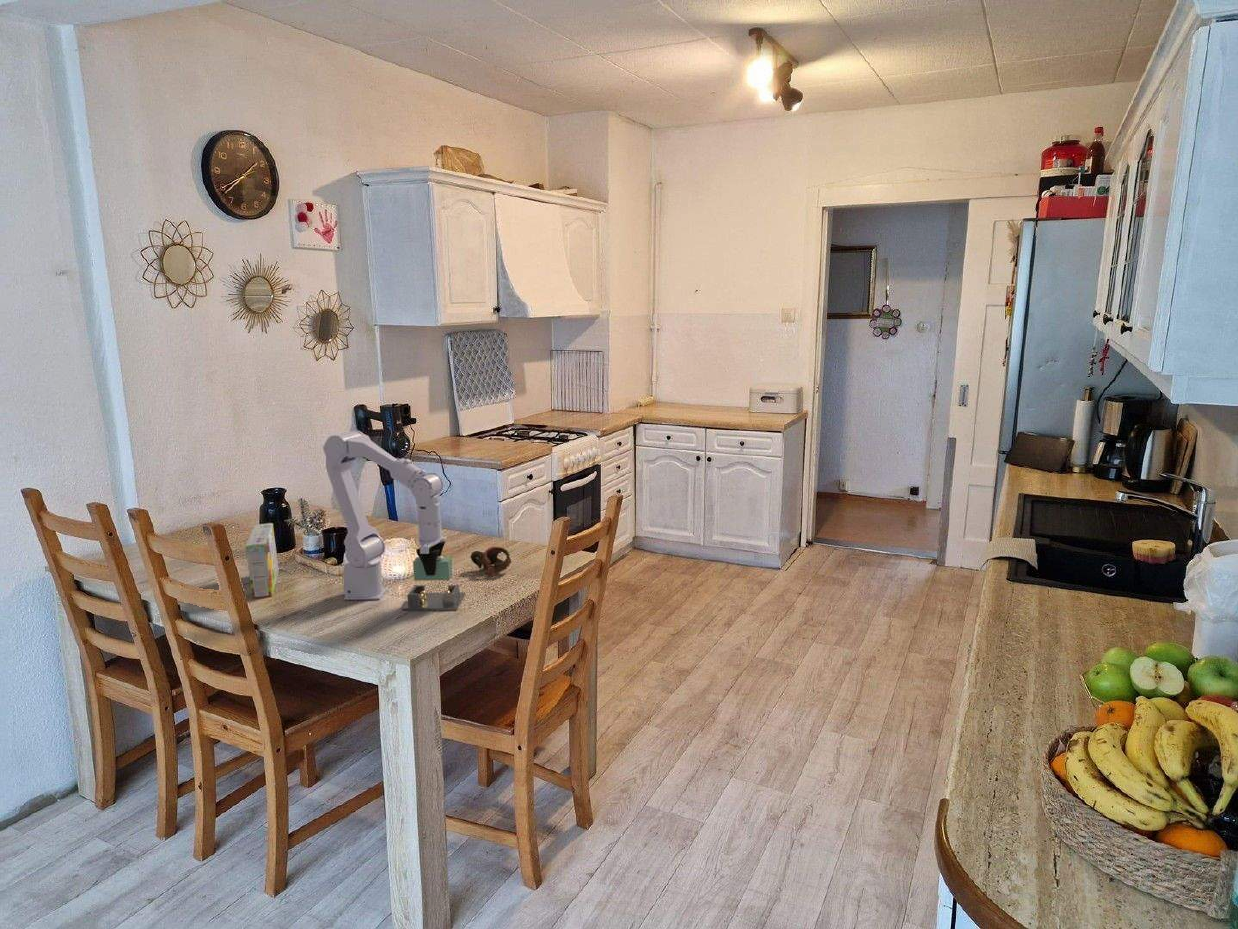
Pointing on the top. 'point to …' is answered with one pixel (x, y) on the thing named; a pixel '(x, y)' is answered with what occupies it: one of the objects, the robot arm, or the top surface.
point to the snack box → (262, 560)
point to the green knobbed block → (441, 569)
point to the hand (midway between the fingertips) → (432, 572)
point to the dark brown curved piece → (491, 560)
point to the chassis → (433, 599)
